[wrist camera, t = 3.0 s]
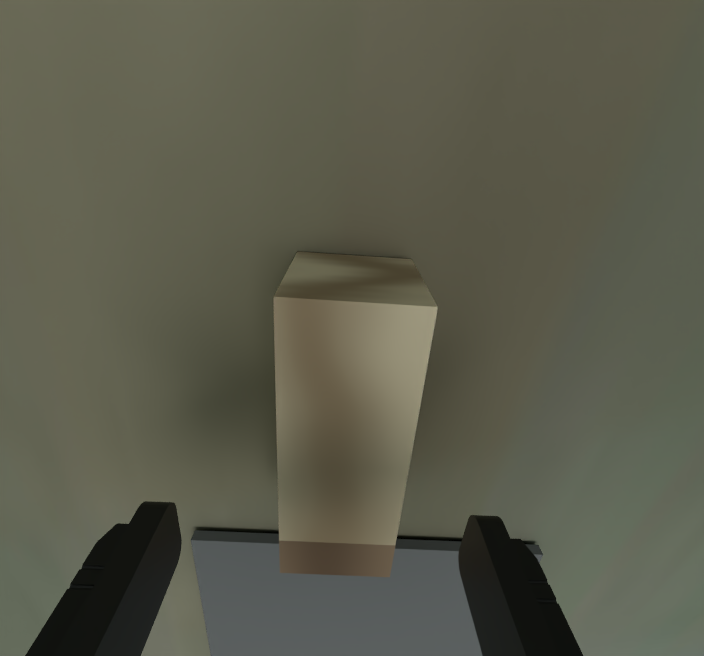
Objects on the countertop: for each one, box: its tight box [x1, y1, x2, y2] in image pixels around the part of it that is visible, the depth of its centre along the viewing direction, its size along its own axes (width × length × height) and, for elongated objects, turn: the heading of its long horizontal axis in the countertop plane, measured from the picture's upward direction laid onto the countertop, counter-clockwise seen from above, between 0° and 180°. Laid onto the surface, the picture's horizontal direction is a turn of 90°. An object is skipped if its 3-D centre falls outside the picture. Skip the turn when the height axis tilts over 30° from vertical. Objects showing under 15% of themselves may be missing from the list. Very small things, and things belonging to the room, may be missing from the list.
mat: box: [191, 530, 543, 656], centre depth 25 cm, size 20×15×1 cm
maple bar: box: [273, 252, 438, 577], centre depth 15 cm, size 4×12×5 cm, turn 176°
